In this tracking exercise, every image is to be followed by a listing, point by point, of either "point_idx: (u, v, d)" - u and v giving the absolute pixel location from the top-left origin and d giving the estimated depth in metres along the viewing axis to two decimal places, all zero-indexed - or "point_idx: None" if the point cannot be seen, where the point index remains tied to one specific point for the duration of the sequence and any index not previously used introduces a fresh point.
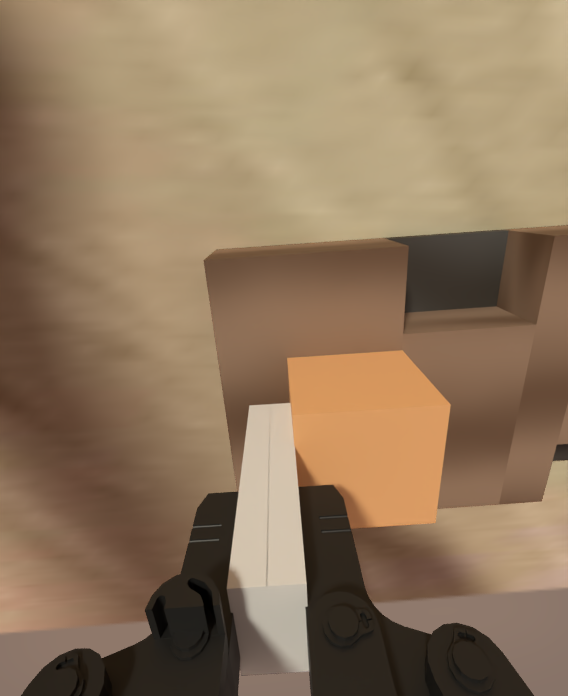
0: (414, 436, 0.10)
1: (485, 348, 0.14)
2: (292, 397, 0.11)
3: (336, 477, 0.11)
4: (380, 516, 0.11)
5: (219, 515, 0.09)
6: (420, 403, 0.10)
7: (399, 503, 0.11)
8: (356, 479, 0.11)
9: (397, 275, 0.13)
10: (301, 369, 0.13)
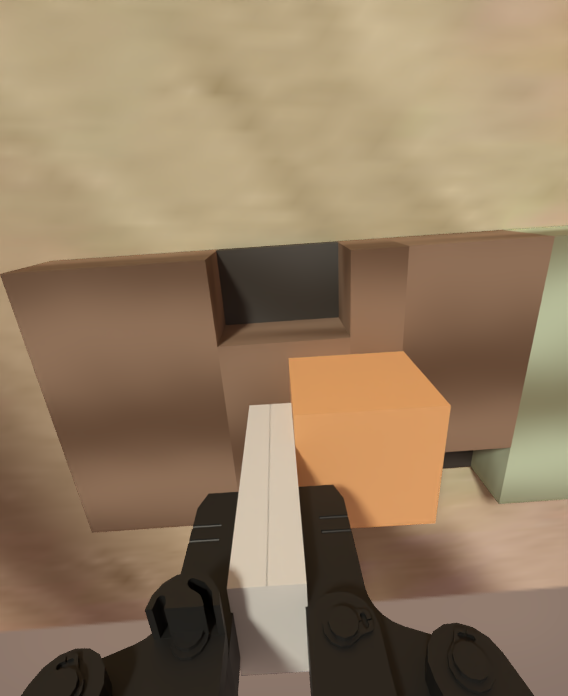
0: (415, 436, 0.10)
1: None
2: (293, 397, 0.11)
3: (337, 477, 0.11)
4: (380, 516, 0.12)
5: (219, 515, 0.09)
6: (420, 404, 0.10)
7: (399, 503, 0.11)
8: (357, 479, 0.11)
9: (199, 289, 0.13)
10: (302, 370, 0.13)
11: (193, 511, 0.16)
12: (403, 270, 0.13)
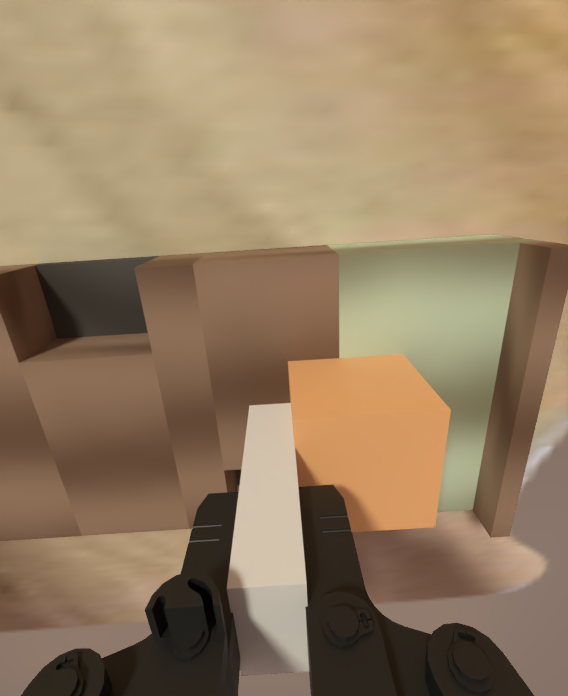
0: (414, 440, 0.10)
1: (109, 376, 0.14)
2: (293, 401, 0.11)
3: (337, 481, 0.11)
4: (380, 520, 0.11)
5: (219, 515, 0.09)
6: (421, 408, 0.10)
7: (399, 507, 0.11)
8: (357, 483, 0.11)
9: None
10: (302, 373, 0.13)
11: (29, 525, 0.16)
12: (192, 288, 0.13)
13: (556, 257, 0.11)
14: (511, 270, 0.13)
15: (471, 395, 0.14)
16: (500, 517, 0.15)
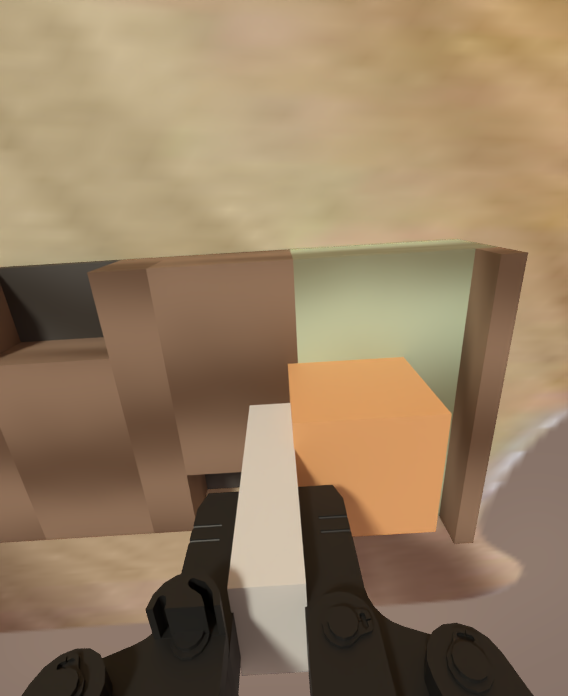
0: (415, 444, 0.10)
1: (67, 381, 0.14)
2: (292, 405, 0.11)
3: (336, 486, 0.11)
4: (380, 524, 0.11)
5: (219, 515, 0.09)
6: (421, 412, 0.10)
7: (399, 512, 0.11)
8: (356, 487, 0.11)
9: None
10: (302, 376, 0.13)
11: None
12: (146, 292, 0.13)
13: (507, 264, 0.11)
14: (468, 276, 0.13)
15: None
16: (463, 524, 0.15)
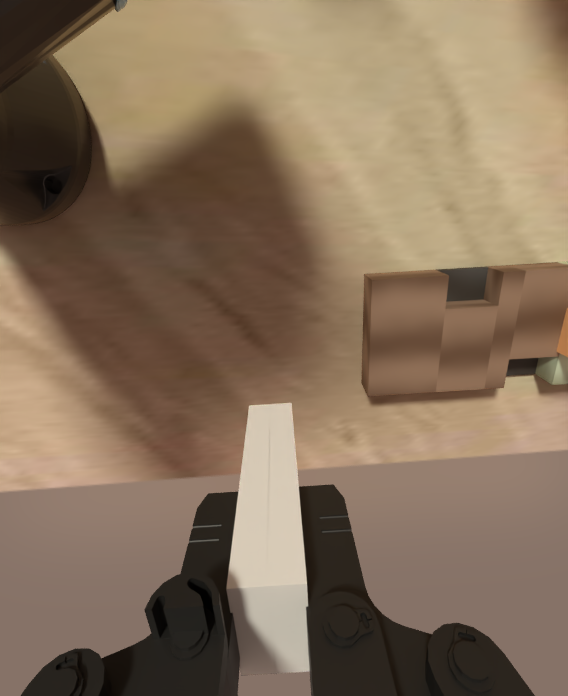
0: None
1: (477, 315, 0.34)
2: None
3: None
4: None
5: (219, 515, 0.09)
6: None
7: None
8: None
9: (444, 286, 0.33)
10: None
11: (415, 386, 0.37)
12: (522, 279, 0.33)
13: None
14: None
15: None
16: None
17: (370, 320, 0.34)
